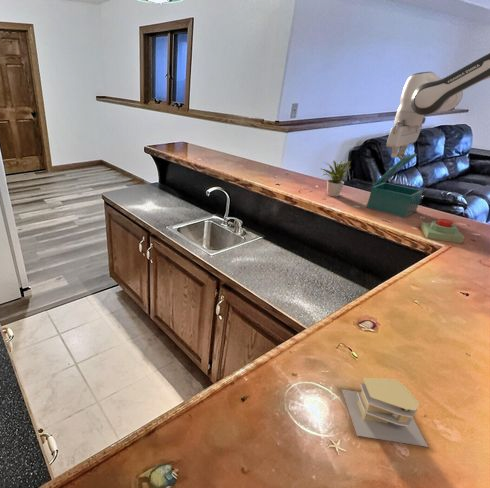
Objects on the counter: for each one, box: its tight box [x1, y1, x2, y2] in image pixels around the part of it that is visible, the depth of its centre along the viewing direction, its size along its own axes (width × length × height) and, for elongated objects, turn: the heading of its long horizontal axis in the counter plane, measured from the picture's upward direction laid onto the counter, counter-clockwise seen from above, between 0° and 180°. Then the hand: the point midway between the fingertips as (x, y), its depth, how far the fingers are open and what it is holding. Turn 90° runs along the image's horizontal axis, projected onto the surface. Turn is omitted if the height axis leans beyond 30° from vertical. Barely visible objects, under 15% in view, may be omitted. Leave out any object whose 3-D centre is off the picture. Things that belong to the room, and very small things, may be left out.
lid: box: [371, 150, 417, 187], centre depth 141 cm, size 15×12×5 cm
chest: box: [366, 182, 424, 218], centre depth 143 cm, size 15×12×9 cm
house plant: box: [320, 159, 352, 197], centre depth 160 cm, size 14×14×16 cm
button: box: [437, 218, 454, 227], centre depth 120 cm, size 4×4×2 cm
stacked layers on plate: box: [341, 377, 429, 448], centre depth 56 cm, size 10×9×6 cm
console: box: [419, 220, 465, 244], centre depth 121 cm, size 10×10×4 cm
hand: (397, 156), depth 138 cm, fingers closed on lid, 5 cm apart
